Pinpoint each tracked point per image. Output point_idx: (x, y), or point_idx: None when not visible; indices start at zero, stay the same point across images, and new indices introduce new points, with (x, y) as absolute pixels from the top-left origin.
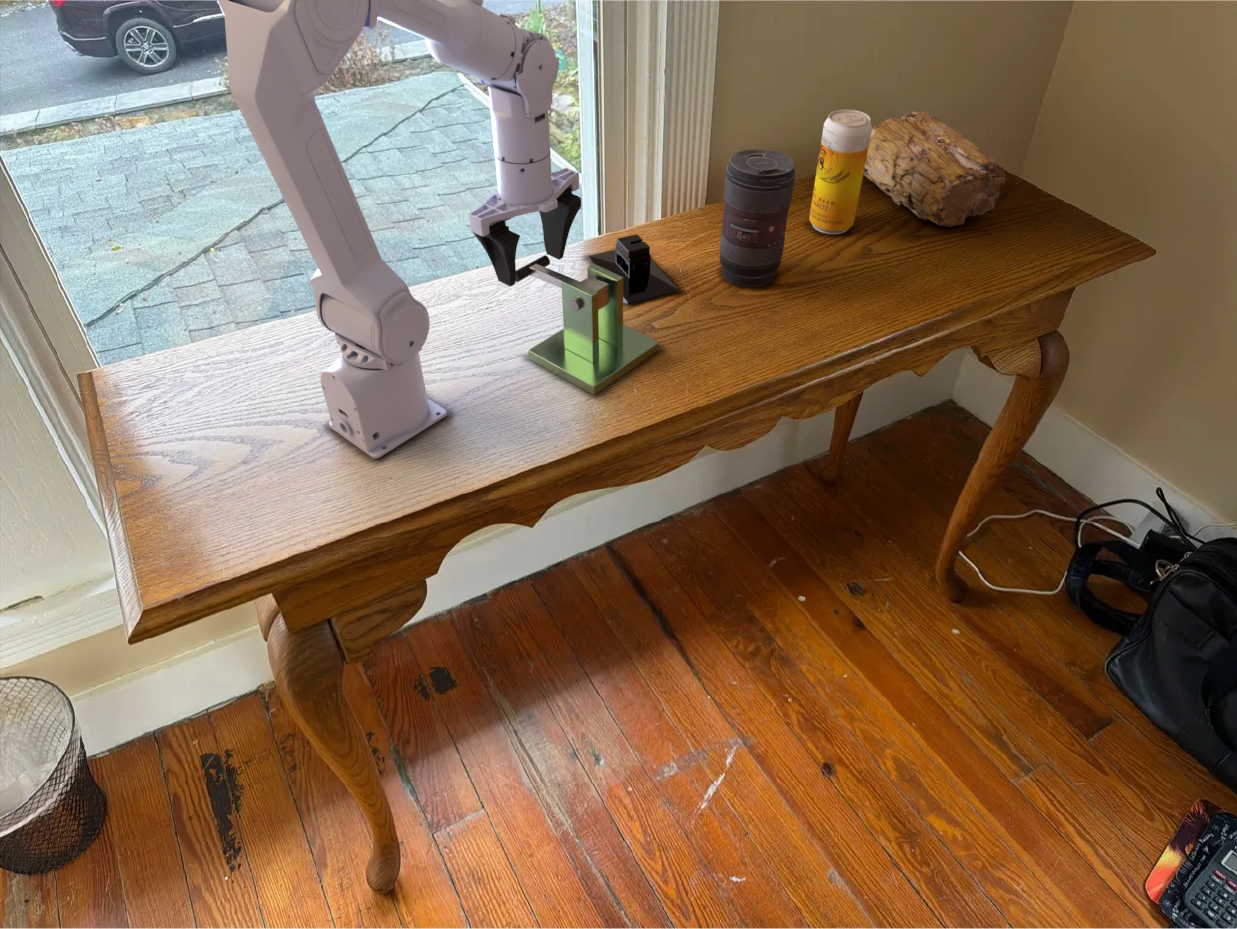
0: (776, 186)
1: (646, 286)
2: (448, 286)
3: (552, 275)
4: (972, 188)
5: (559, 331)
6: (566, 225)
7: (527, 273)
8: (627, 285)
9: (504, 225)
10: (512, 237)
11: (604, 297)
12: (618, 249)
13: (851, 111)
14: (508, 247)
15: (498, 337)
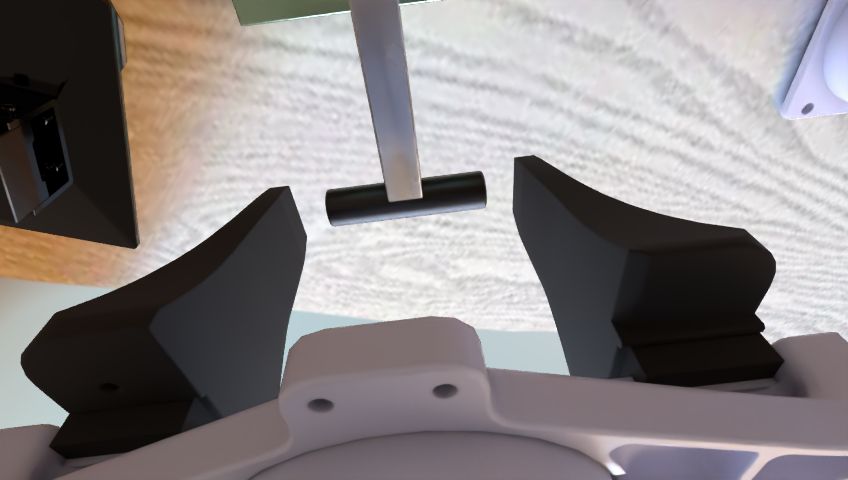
0: None
1: (8, 32)
2: (450, 312)
3: (401, 87)
4: None
5: (399, 2)
6: (211, 259)
7: (439, 180)
8: (75, 77)
9: (647, 356)
10: (707, 251)
11: None
12: (34, 194)
13: None
14: (674, 226)
15: (505, 123)
